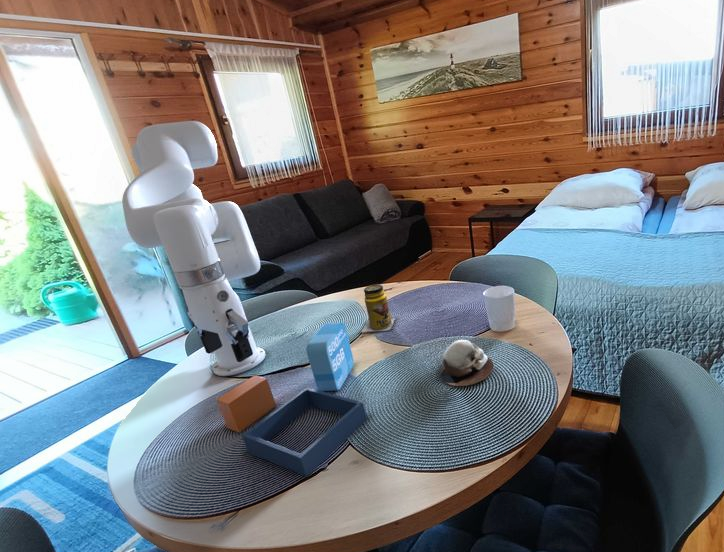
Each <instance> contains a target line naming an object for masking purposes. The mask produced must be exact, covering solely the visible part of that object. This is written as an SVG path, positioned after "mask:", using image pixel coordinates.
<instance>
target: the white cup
mask: <svg viewBox="0 0 724 552" xmlns="http://www.w3.org/2000/svg"><path fill="white" fill-rule="evenodd" d="M483 297H484V303H485V310H486V315H487V320H488V324H489V325H488V326H489V329H490V330H492V331H494V332H499V333H502V332H508V331H511V330H512V329H514V328H515V326H516V320H515V319H516V300H515V298H516V297H515V288H513V287H512V286H509V285H495V286H490V287H489V288H486V289H485V290H484V291H483Z"/></svg>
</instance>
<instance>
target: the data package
mask: <svg viewBox="0 0 724 552" xmlns="http://www.w3.org/2000/svg"><path fill="white" fill-rule="evenodd" d="M306 355H307V359H308V360H309V361H308V363H309V365H310V368H311V372H312V376H313V379H314V382H315V385H316V390H319V391H322V392H333V391H340V390H341V388H342V387H343V385H344V383H345V381H346V379H347V377H348V376H349V374H350V372H351V371H352V369H353V367H354V362H355V359H354V356H353V352H352V348H351V344H350V340H349V336H348V332H347V328H346V324H345V323H344V322H330V323H323V324H322V326H321V327H320V328H319V330H318V331H317V332H316V333H315V335H313V337H312V338H311V340H309V342H308V343H307V345H306Z"/></svg>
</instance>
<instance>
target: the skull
mask: <svg viewBox="0 0 724 552" xmlns="http://www.w3.org/2000/svg"><path fill="white" fill-rule="evenodd" d="M442 363H443V366H442V367H441V369H440V373H439V375H440V378H441V380H442V381H443V382H444V383H446V384H447V385H450V386H454V387H465V386H473V385H475V384H477V383H480V382H482V381H484V380H486V378H488V377H489V376H490V375H491V374H492V372H493V371H494V362H493V360H492V358H490V357H488V356H487V355H486V353H484V350H483V349H482V348H480V347H479V346H478V345H476V344H475V343H473V342H471V341H470V340H467V339H458V340H455V341H453V342H452V343H451V344H449V346H448V347H446V349H445V351H444V352H443V354H442Z"/></svg>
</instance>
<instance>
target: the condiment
mask: <svg viewBox="0 0 724 552" xmlns="http://www.w3.org/2000/svg"><path fill="white" fill-rule="evenodd" d="M363 293H364V303H365V308H366V312H367V317H368V319H367V320H366V322H365V324H364V325H363V326H364V327H363V328H362V330H361V331H360V333H370V332H384V331H390V330H391V329H392V327H393V325H394V323H395V321H396V318H394V317H391V313H390V308H389V303H388V298H387V294H386V293H385V290H384V287H383V284H379V283H376V284H374V283H373V284H370V285H367V286H366V287H364V288H363Z"/></svg>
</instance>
